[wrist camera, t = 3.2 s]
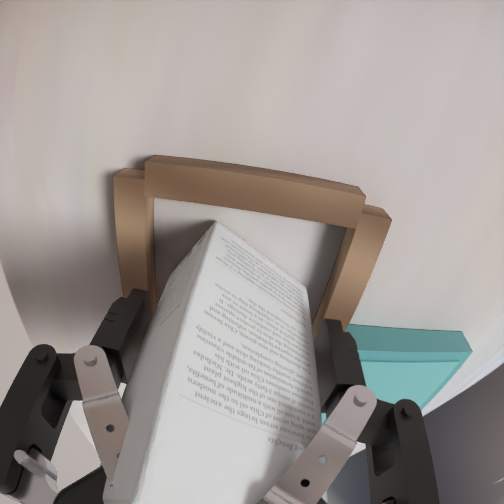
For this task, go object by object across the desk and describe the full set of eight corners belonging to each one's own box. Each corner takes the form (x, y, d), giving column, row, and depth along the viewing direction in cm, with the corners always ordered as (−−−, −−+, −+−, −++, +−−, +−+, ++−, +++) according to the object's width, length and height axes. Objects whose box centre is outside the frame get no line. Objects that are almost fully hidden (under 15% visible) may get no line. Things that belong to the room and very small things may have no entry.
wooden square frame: (124, 152, 12) (112, 159, 11) (388, 194, 13) (397, 204, 12) (138, 337, 19) (133, 351, 18) (318, 365, 19) (320, 379, 18)
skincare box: (169, 273, 16) (82, 500, 5) (216, 216, 14) (127, 507, 4) (257, 330, 17) (243, 541, 7) (310, 288, 16) (336, 534, 5)
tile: (338, 323, 17) (344, 351, 15) (462, 331, 17) (473, 353, 15) (295, 407, 22) (296, 430, 20) (400, 407, 22) (405, 427, 20)
